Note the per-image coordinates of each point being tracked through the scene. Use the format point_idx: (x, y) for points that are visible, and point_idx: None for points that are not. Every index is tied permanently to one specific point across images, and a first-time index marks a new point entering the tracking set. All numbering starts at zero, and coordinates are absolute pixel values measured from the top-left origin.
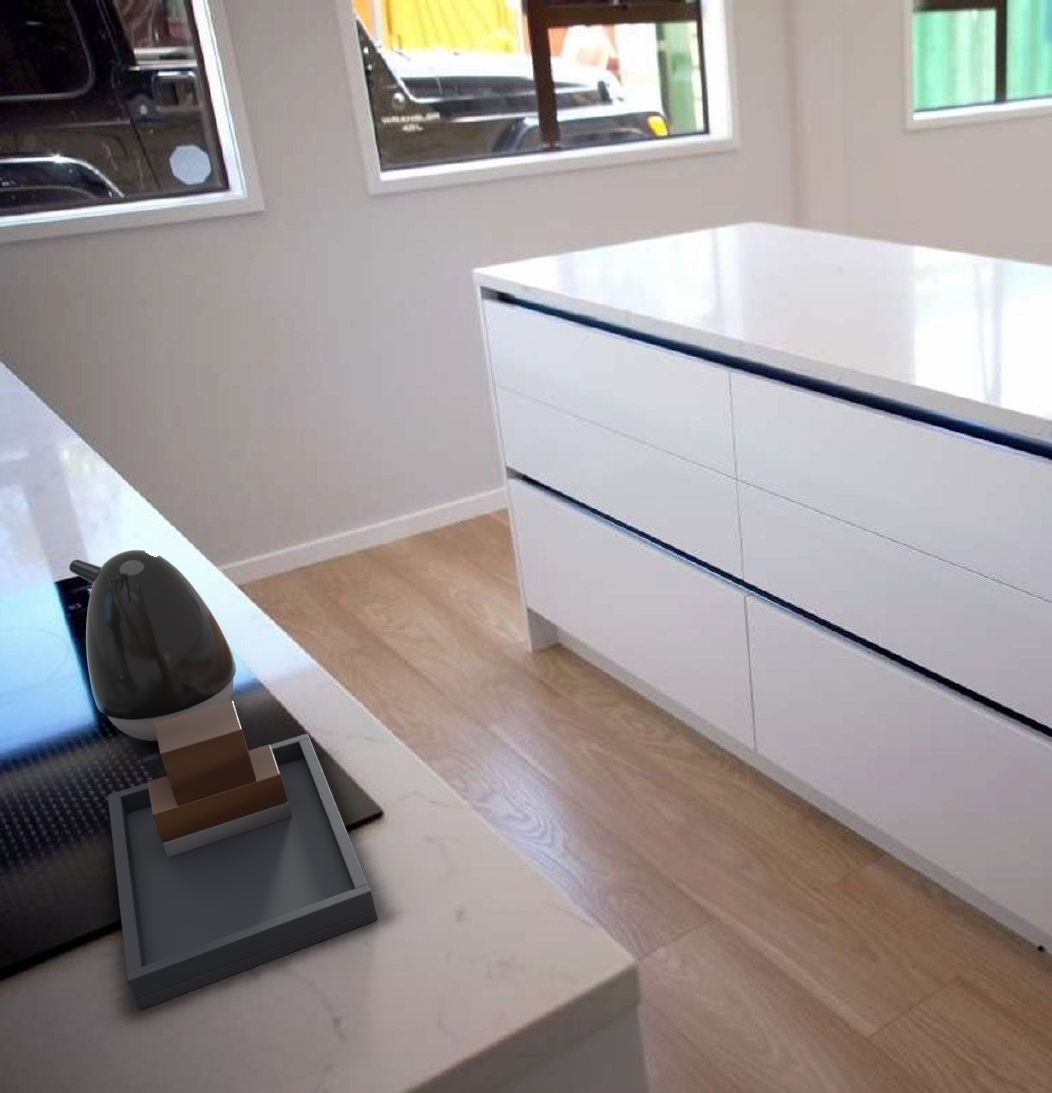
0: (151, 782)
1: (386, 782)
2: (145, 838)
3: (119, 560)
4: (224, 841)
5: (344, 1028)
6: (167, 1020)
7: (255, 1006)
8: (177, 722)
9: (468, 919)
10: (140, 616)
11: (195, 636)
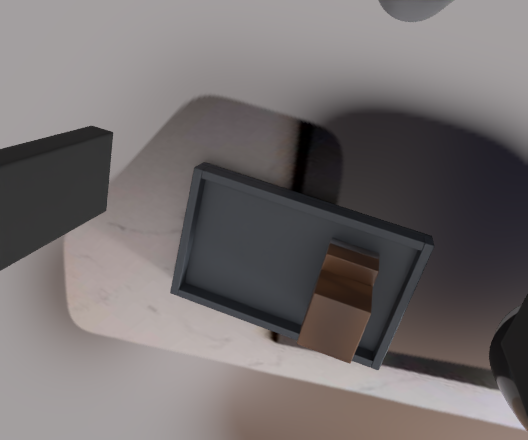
0: (374, 272)
1: (305, 362)
2: (370, 238)
3: None
4: (317, 269)
5: (114, 227)
6: (184, 169)
7: (161, 206)
8: (353, 323)
9: (146, 309)
10: None
11: (514, 411)
